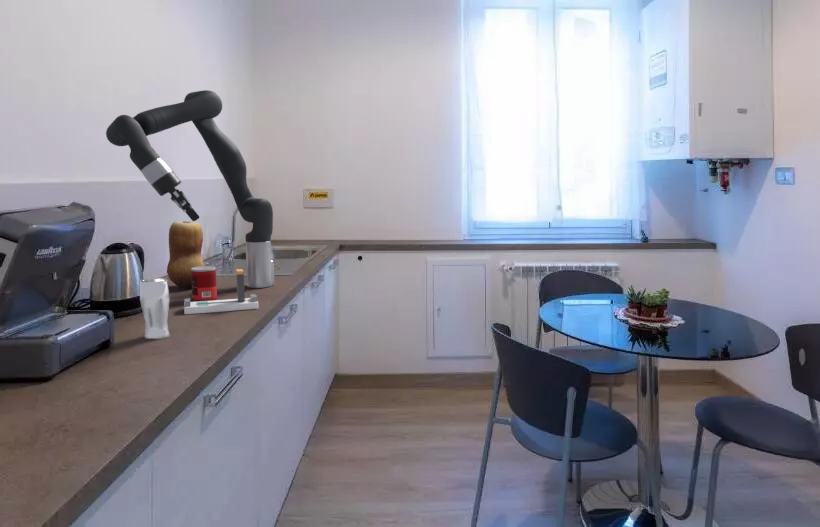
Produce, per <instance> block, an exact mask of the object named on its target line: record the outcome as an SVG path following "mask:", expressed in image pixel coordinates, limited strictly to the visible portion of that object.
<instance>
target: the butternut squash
mask: <svg viewBox="0 0 820 527" xmlns="http://www.w3.org/2000/svg"><path fill="white" fill-rule="evenodd" d="M203 233H204V232H203V228H202V225H201V224H200V223H199V222H196V221H186V220H177V221H174V222H173V223H172V224H171V225H170V226H169V231H168V249H169V261H168V263H167V267H166V274H167V276H168V279H169V280H170V281H171V282H172V283H173V284H174V285H175V286H177V287H178V288H179V289H186V288H192V281H191V268H194V267H200V266H205V263H204V260H203V257H202V249H203V241H204V234H203Z"/></svg>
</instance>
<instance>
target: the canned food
mask: <svg viewBox="0 0 820 527" xmlns="http://www.w3.org/2000/svg"><path fill="white" fill-rule="evenodd" d="M216 271H217V268H216V266H211V265H207V266H206V265H204V266H200V267H194V268H191V281H192V287H191V294H192V296H191V298H192V300H193V301H192V302H199V301H213V300H217V297H218V291H217V290H218V289H217V288H218V286H217V272H216Z"/></svg>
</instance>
